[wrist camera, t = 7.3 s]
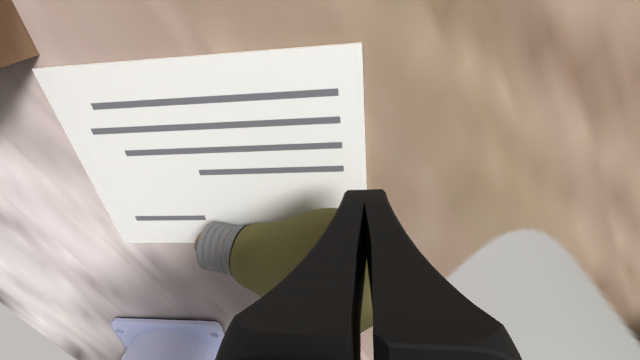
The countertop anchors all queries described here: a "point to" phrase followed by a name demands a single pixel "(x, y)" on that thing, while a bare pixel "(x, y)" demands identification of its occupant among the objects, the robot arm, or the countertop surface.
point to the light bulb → (268, 251)
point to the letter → (215, 135)
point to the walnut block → (13, 36)
